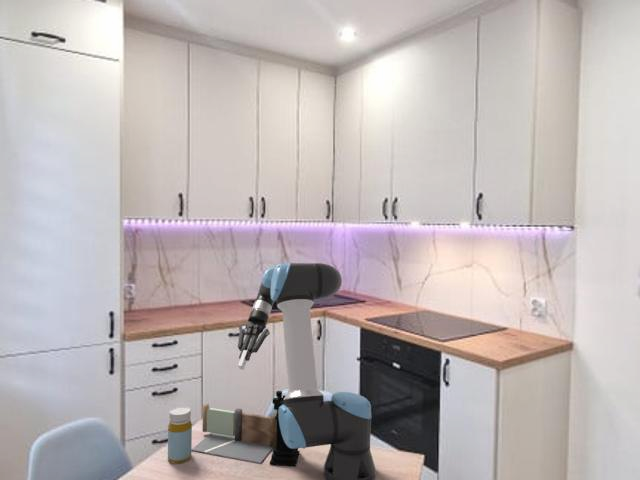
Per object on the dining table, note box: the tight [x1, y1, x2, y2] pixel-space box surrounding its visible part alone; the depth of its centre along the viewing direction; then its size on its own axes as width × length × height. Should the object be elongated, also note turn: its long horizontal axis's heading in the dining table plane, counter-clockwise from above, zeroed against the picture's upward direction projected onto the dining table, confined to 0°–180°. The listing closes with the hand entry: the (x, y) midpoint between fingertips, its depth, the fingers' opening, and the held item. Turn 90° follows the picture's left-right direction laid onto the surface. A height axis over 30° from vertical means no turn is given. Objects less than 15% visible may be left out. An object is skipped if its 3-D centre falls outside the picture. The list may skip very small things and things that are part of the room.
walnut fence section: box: [234, 408, 277, 447], centre depth 148 cm, size 15×2×10 cm, turn 74°
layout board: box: [191, 432, 274, 465], centre depth 147 cm, size 24×16×1 cm, turn 74°
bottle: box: [167, 406, 193, 465], centre depth 137 cm, size 7×7×15 cm
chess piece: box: [269, 390, 301, 468], centre depth 138 cm, size 8×8×20 cm
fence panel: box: [201, 403, 235, 436], centre depth 152 cm, size 12×2×9 cm, turn 74°
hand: (240, 367), depth 166 cm, fingers closed
